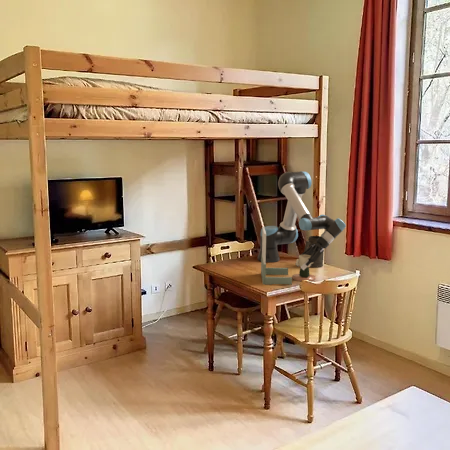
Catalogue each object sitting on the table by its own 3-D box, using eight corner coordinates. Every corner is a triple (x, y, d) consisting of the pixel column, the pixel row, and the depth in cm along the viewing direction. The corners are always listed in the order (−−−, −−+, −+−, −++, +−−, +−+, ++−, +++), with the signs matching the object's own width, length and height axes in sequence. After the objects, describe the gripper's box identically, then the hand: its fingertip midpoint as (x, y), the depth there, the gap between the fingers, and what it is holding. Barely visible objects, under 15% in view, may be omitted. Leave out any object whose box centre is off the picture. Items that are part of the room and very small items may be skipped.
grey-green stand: (287, 274, 330) (289, 227, 325) (291, 284, 307) (293, 234, 302) (261, 273, 331) (262, 226, 326) (262, 284, 307) (263, 233, 302)
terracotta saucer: (287, 277, 322) (287, 275, 322) (304, 274, 330) (304, 272, 330) (303, 282, 311) (303, 280, 310) (320, 279, 318) (320, 277, 318)
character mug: (310, 274, 324) (311, 254, 322) (314, 277, 317) (315, 257, 315) (293, 275, 322) (294, 254, 320) (297, 278, 315) (298, 257, 313)
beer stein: (313, 262, 361) (313, 234, 356) (327, 265, 353) (327, 236, 349) (300, 268, 350) (300, 238, 346) (313, 271, 342) (313, 241, 338)
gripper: (336, 247, 310) (309, 275, 309) (321, 240, 330) (296, 267, 329) (328, 239, 308) (301, 267, 307) (314, 232, 328) (289, 259, 327)
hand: (299, 267), depth 318 cm, fingers open, 8 cm apart
